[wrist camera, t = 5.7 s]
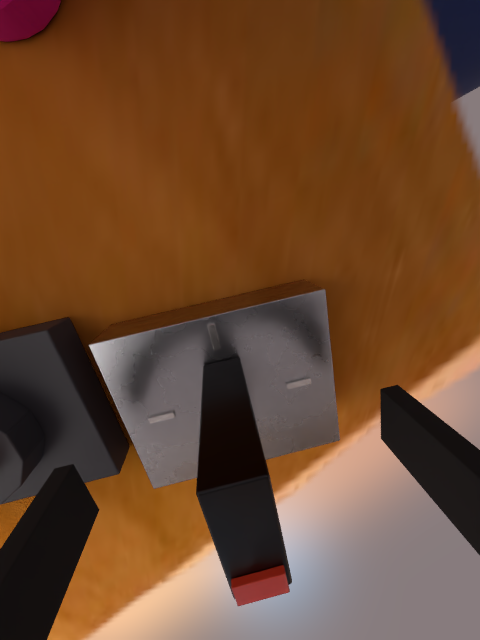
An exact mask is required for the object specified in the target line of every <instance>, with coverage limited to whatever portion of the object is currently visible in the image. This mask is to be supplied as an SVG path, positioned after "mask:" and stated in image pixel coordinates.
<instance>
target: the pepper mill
mask: <svg viewBox="0 0 480 640" xmlns="http://www.w3.org/2000/svg"><path fill="white" fill-rule="evenodd" d="M60 2H61V0H0V41H4V42H10V41H18V40H23V39H27V38H29V37H31V36H33V35H34V34H36V33H38V32H40V31H41V30H43V29H44V28H45V27H46V26H47V24H48V23H49V22H50V20H51V19H52V18H53V16H54V15H55V13H56V12H57V11H58V8H59V5H60Z"/></svg>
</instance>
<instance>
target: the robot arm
mask: <svg viewBox="0 0 480 640" xmlns="http://www.w3.org/2000/svg"><path fill="white" fill-rule="evenodd" d="M381 439H382V440H383V441H384V443H385V444H386V445H387V446H388V447H389V448H390V450H391V451H392V452H393V453H394V454H395V456H396V457H397V458H398V459H399V460H400V462H401V463H402V464H403V465H404V466H405V467H406V468H407V470H408V471H409V472H410V473H411V475H412V476H413V477H414V478H415V479H416V480H417V482H418V483H419V484H420V485H421V486H422V488H423V489H424V490H425V491H426V492H427V493H428V495H429V496H430V497H431V498H432V499H433V501H434V502H435V503H436V504H437V505H438V507H439V508H440V509H441V510H442V511H443V512H444V514H445V515H446V516H447V517H448V518H449V519H450V521H451V522H452V523H453V524H454V525H455V527H456V528H457V529H458V530H459V531H460V533H461V534H462V535H463V536H464V537H465V538H466V540H467V541H468V542H469V543H470V544H471V545H472V547H473V548H474V549H475V550H476V551H477V553H478V554H479V555H480V450H479V449H478V448H477V447H475V446H474V445H473V444H471V443H470V442H469V441H468V440H466V439H465V438H464V437H463V436H461V435H460V434H459V433H458V432H456V431H455V430H454V429H452V428H451V427H450V426H449V425H447V424H446V423H445V422H444V421H442V420H441V419H440V418H439V417H437V416H436V415H435V414H434V413H432V412H431V411H430V410H429V409H427V408H426V407H425V406H424V405H422V404H421V403H420V402H419V401H417V400H416V399H415V398H413V397H412V396H411V395H410V394H408V393H407V392H406V391H405V390H403V389H402V388H401V387H400V386H398V385H395V386H391V387H387V388H383V389H381ZM98 512H99V509H98V507H97V505H96V503H95V501H94V500H93V498H92V496H91V494H90V492H89V491H88V489H87V487H86V485H85V484H84V482H83V480H82V478H81V476H80V475H79V473H78V471H77V469H76V467H75V466H74V464H71V465H67V466H63V467H58V468H54V470H53V471H52V473H51V474H50V476H49V477H48V479H47V480H46V482H45V483H44V485H43V486H42V488H41V489H40V491H39V492H38V494H37V495H36V497H35V498H34V500H33V501H32V503H31V504H30V506H29V507H28V509H27V510H26V512H25V513H24V515H23V516H22V518H21V519H20V521H19V522H18V524H17V525H16V527H15V528H14V530H13V531H12V533H11V534H10V536H9V537H8V539H7V540H6V542H5V543H4V545H3V546H2V548H1V549H0V640H47V638H48V635H49V633H50V630H51V628H52V625H53V623H54V620H55V618H56V615H57V613H58V611H59V608H60V606H61V603H62V601H63V598H64V596H65V593H66V591H67V588H68V586H69V583H70V581H71V578H72V576H73V573H74V571H75V568H76V566H77V564H78V561H79V559H80V556H81V554H82V551H83V549H84V546H85V544H86V541H87V539H88V536H89V534H90V531H91V529H92V526H93V524H94V521H95V519H96V517H97V514H98Z"/></svg>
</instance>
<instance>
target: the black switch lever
mask: <svg viewBox="0 0 480 640" xmlns="http://www.w3.org/2000/svg"><path fill="white" fill-rule="evenodd" d="M196 495H197V497H198V500H199V503H200V506H201V508H202V511H203V514H204V517H205V520H206V522H207V525H208V528H209V531H210V533H211V536H212V539H213V542H214V545H215V547H216V550H217V553H218V556H219V558H220V561H221V564H222V567H223V570H224V572H225V575H226V578H227V581H228V583H229V586H230V589H231V592H232V594H233V597H234V599H236V602H237V605H238V606H241V605H245V604H248V603H252V602H255V601H259V600H263V599H266V598H270V597H274V596H277V595H281V594H284V593H288V592H290V590H289V586H288V585H289V584H291V583H292V579H291V574H290V569H289V564H288V560H287V555H286V550H285V546H284V541H283V536H282V532H281V527H280V522H279V518H278V513H277V508H276V504H275V499H274V494H273V490H272V485H271V480H270V476H269V472H268V468H267V464H266V460H265V456H264V452H263V448H262V444H261V440H260V436H259V432H258V427H257V423H256V419H255V415H254V411H253V407H252V403H251V399H250V395H249V391H248V387H247V383H246V379H245V375H244V371H243V367H242V363H241V359H240V358H234V359H230V360H225V361H221V362H217V363H212V364H208V365H204V366H203V375H202V394H201V413H200V432H199V451H198V470H197V488H196Z"/></svg>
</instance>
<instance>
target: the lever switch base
mask: <svg viewBox="0 0 480 640" xmlns="http://www.w3.org/2000/svg"><path fill="white" fill-rule="evenodd" d="M89 347H90V350H91V352H92V354H93V356H94V358H95V361H96V363H97V365H98V367H99V369H100V372H101V374H102V376H103V378H104V380H105V383H106V385H107V387H108V389H109V391H110V394H111V396H112V398H113V400H114V402H115V405H116V407H117V409H118V411H119V413H120V416H121V418H122V420H123V422H124V424H125V427H126V429H127V431H128V433H129V435H130V438H131V440H132V442H133V444H134V446H135V449H136V451H137V453H138V455H139V457H140V460H141V462H142V464H143V466H144V468H145V471H146V473H147V475H148V477H149V479H150V482H151V484H152V486H153V488H154V489H155V488H159V487H163V486H167V485H170V484H174V483H178V482H182V481H186V480H190V479H193V478H197V470H198V451H199V432H200V413H201V394H202V375H203V366H204V365H208V364H212V363H217V362H221V361H225V360H230V359H234V358H240V359H241V363H242V367H243V371H244V375H245V379H246V383H247V387H248V391H249V395H250V399H251V403H252V407H253V411H254V415H255V419H256V423H257V427H258V432H259V436H260V440H261V444H262V448H263V452H264V456H265V460H266V459H270V458H274V457H278V456H282V455H285V454H289V453H293V452H297V451H301V450H305V449H308V448H312V447H316V446H320V445H324V444H328V443H331V442H335V441H339V440H340V437H339V427H338V416H337V406H336V396H335V385H334V375H333V365H332V354H331V344H330V334H329V323H328V313H327V303H326V292H325V289H324V288H321V287H319V286H317V285H315V284H313V283H311V282H308V281H306V280H300V281H296V282H292V283H287V284H283V285H279V286H274V287H270V288H266V289H262V290H257V291H253V292H249V293H244V294H240V295H236V296H231V297H227V298H223V299H219V300H214V301H210V302H206V303H201V304H197V305H193V306H189V307H184V308H180V309H176V310H171V311H167V312H163V313H158V314H154V315H150V316H146V317H141V318H137V319H133V320H128V321H124V322H120V323H116V324H111V325H110V326H109V327H108V328H107V329H106V330H104V331H103V332H102V333H101V334H100V335H99V336H98V337H97V338H96V339H94V340H93V341H92V342H91V343H90V344H89Z"/></svg>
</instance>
